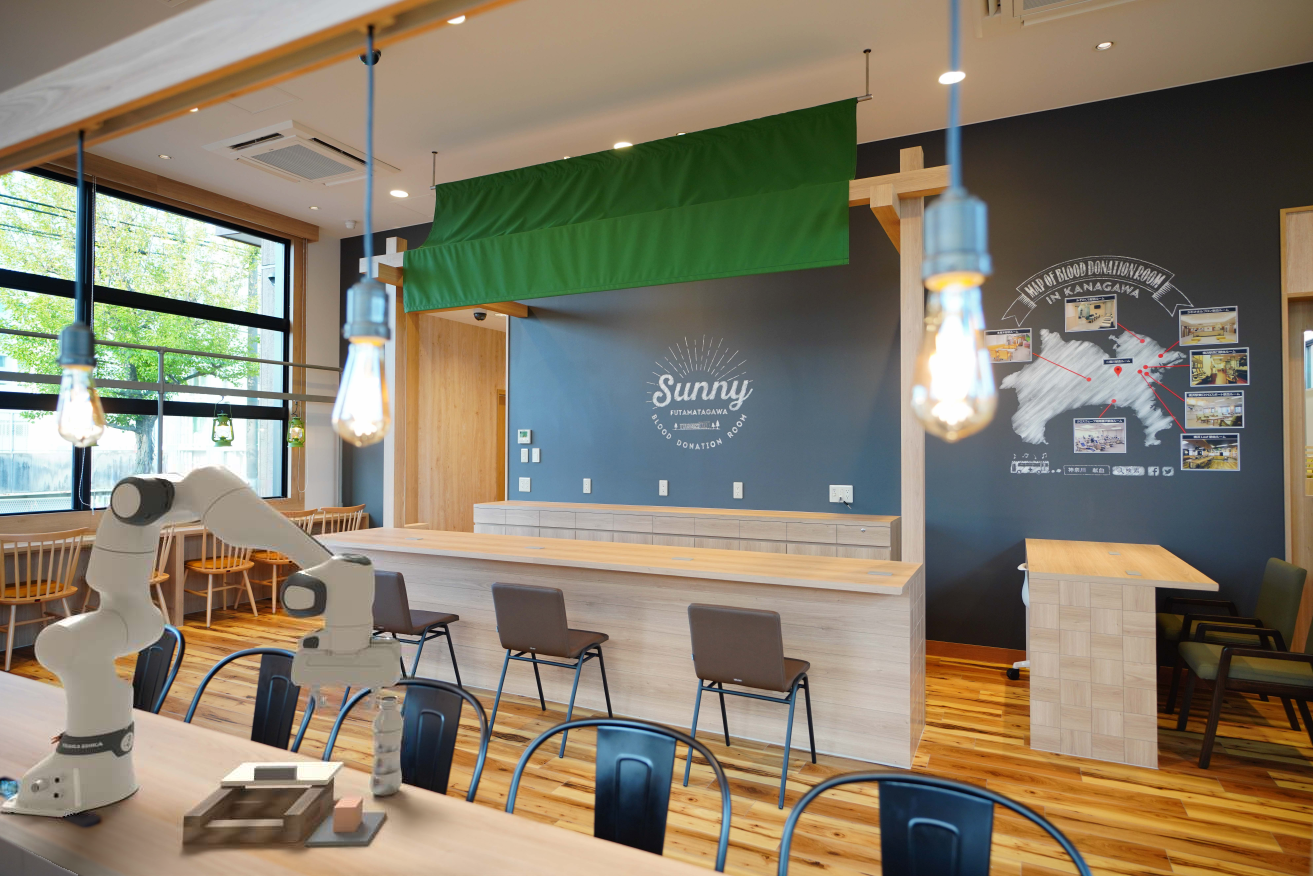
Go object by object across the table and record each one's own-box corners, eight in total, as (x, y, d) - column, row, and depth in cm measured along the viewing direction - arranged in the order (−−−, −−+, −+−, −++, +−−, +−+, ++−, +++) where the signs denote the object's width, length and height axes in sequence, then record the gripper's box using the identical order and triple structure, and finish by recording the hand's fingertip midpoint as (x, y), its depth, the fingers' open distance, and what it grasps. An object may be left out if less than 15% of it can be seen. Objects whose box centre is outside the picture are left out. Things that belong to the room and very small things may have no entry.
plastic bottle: (371, 802, 147) (374, 705, 148) (368, 789, 153) (371, 696, 154) (403, 796, 150) (406, 701, 151) (399, 783, 156) (402, 692, 157)
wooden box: (182, 843, 130) (183, 816, 130) (229, 803, 146) (230, 778, 146) (298, 842, 131) (299, 814, 131) (333, 801, 147) (334, 777, 147)
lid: (220, 786, 142) (221, 768, 142) (243, 767, 151) (244, 751, 151) (326, 784, 143) (327, 767, 144) (343, 766, 152) (344, 750, 153)
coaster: (306, 846, 130) (306, 841, 130) (330, 816, 141) (330, 812, 141) (367, 845, 130) (367, 840, 131) (386, 816, 141) (386, 812, 141)
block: (333, 831, 134) (333, 807, 134) (341, 821, 138) (342, 797, 138) (354, 831, 134) (355, 807, 134) (362, 820, 138) (362, 797, 138)
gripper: (406, 634, 143) (403, 703, 142) (303, 632, 142) (300, 702, 141) (397, 641, 136) (393, 714, 136) (289, 639, 135) (285, 712, 135)
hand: (345, 708), depth 138 cm, fingers open, 8 cm apart
